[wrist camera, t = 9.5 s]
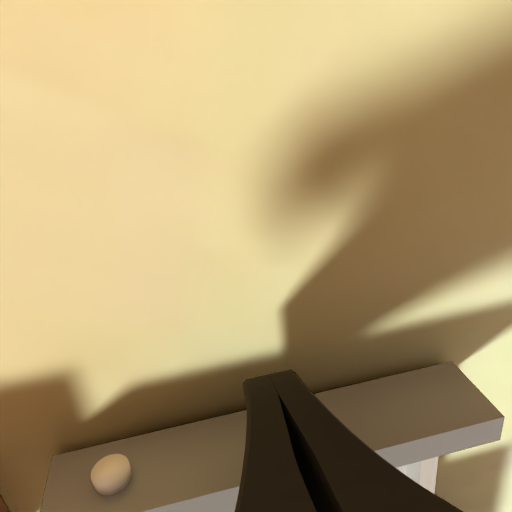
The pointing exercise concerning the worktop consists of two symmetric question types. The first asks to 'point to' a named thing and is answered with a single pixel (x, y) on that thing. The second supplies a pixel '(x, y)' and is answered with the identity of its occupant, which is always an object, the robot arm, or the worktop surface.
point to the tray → (234, 438)
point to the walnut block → (3, 506)
